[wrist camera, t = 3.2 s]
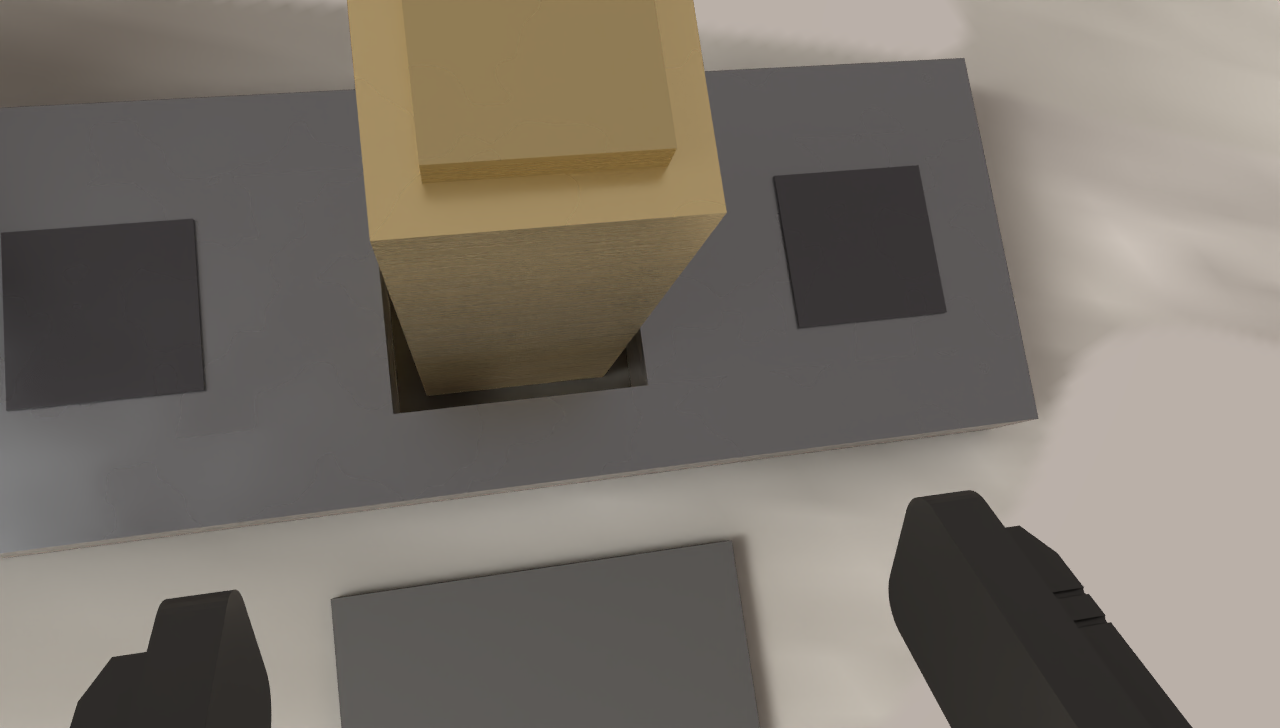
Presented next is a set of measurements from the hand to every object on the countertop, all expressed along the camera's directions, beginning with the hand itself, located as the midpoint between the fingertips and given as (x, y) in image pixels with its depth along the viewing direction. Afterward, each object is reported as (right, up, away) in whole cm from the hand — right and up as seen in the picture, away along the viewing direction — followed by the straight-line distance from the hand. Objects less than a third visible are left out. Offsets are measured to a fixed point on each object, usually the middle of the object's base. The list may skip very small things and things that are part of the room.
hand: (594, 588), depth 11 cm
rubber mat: (-1, -7, +12) cm, 14 cm away
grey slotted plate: (-3, +4, +14) cm, 15 cm away
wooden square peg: (-3, +4, +14) cm, 15 cm away
